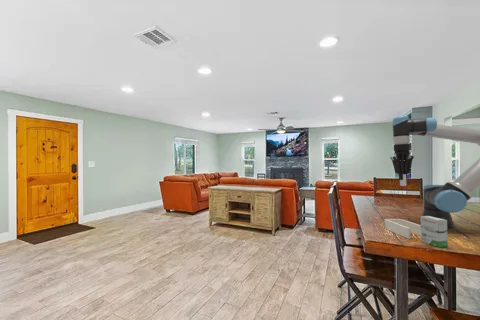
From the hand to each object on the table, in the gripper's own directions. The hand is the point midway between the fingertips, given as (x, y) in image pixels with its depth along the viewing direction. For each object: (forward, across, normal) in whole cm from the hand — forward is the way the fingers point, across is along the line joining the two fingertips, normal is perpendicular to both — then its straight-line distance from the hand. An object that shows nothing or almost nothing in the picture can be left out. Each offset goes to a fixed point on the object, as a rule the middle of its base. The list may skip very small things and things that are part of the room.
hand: (403, 185), depth 130 cm
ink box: (+24, +9, +25) cm, 36 cm away
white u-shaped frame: (+23, +8, +9) cm, 26 cm away
